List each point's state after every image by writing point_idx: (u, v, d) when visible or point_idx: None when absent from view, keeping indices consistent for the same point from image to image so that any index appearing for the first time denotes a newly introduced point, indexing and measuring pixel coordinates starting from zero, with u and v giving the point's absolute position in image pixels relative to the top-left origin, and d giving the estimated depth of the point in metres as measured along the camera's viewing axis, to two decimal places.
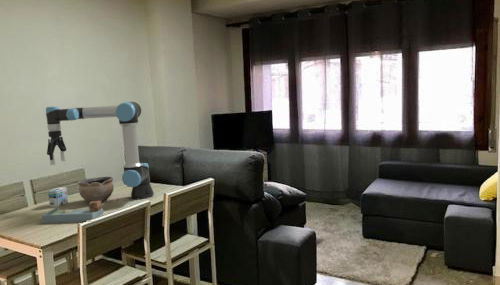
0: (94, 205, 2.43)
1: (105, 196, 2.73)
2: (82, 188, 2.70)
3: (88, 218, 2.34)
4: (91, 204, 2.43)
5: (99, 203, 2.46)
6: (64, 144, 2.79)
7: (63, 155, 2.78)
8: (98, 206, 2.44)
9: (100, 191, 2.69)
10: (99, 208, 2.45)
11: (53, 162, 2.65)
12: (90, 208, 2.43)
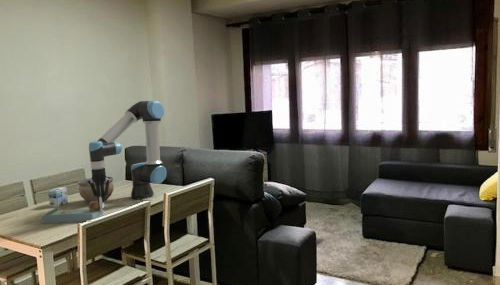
0: (94, 205, 2.43)
1: (105, 196, 2.73)
2: (82, 188, 2.70)
3: (88, 218, 2.34)
4: (91, 204, 2.43)
5: (99, 203, 2.46)
6: (106, 189, 2.42)
7: None
8: (98, 206, 2.44)
9: (100, 191, 2.69)
10: (99, 208, 2.45)
11: None
12: (90, 208, 2.43)
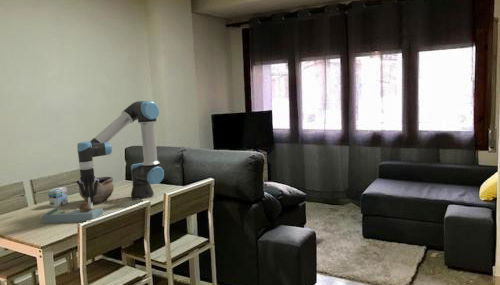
0: (84, 206, 2.43)
1: (105, 196, 2.73)
2: None
3: (88, 218, 2.34)
4: (81, 205, 2.43)
5: None
6: (95, 189, 2.43)
7: None
8: (88, 207, 2.44)
9: (100, 191, 2.69)
10: (89, 209, 2.45)
11: None
12: (80, 209, 2.43)
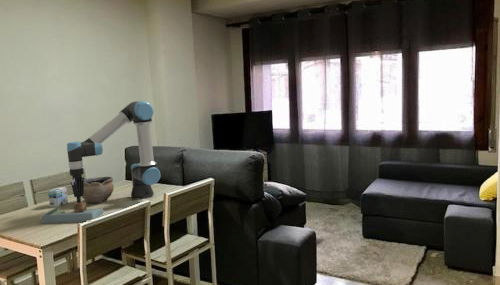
0: (79, 206, 2.43)
1: (105, 196, 2.73)
2: None
3: (88, 218, 2.34)
4: (76, 205, 2.43)
5: (84, 204, 2.45)
6: (83, 187, 2.51)
7: None
8: (83, 207, 2.44)
9: (100, 190, 2.70)
10: (84, 209, 2.45)
11: None
12: (75, 209, 2.43)
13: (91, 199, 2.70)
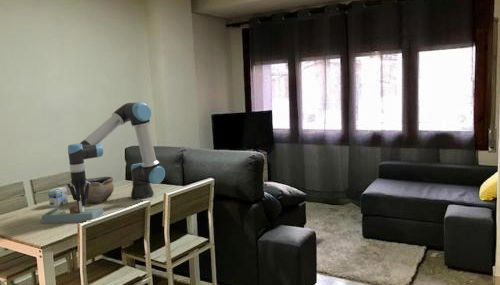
0: (74, 208, 2.38)
1: (105, 196, 2.73)
2: None
3: (88, 218, 2.34)
4: (71, 207, 2.38)
5: None
6: (86, 193, 2.36)
7: None
8: (79, 210, 2.39)
9: (100, 191, 2.70)
10: None
11: None
12: (70, 211, 2.38)
13: (91, 199, 2.70)
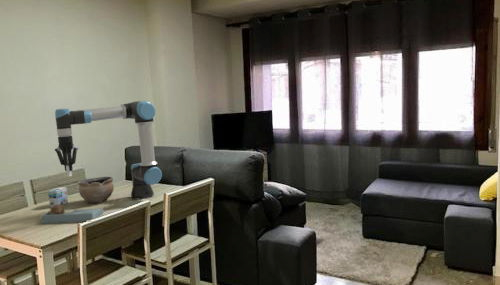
0: (56, 209, 2.38)
1: (105, 196, 2.73)
2: (82, 188, 2.70)
3: (88, 218, 2.34)
4: (52, 208, 2.38)
5: (61, 207, 2.41)
6: (73, 157, 2.38)
7: None
8: (60, 211, 2.39)
9: (100, 191, 2.69)
10: (61, 212, 2.40)
11: None
12: (52, 212, 2.38)
13: (91, 199, 2.70)
